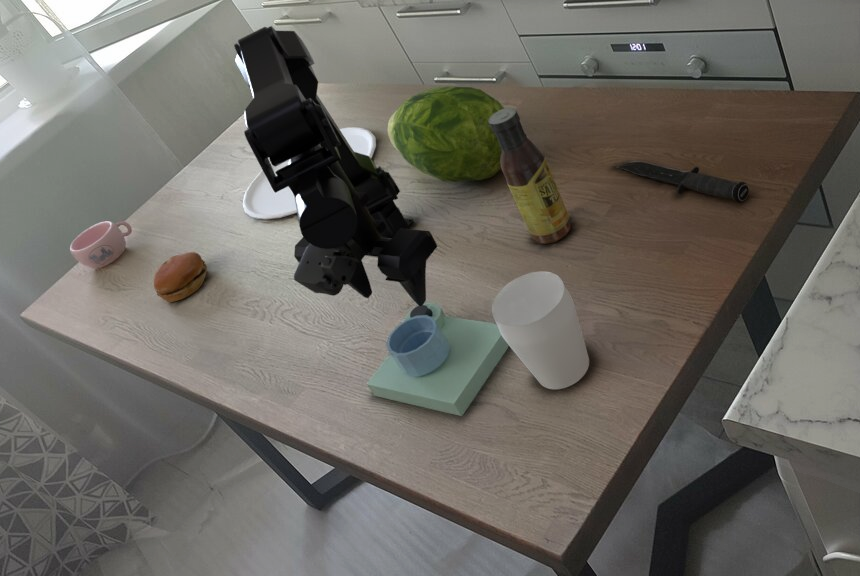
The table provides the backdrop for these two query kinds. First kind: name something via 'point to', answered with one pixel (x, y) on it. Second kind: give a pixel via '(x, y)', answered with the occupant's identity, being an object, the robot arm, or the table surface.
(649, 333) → the table surface
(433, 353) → the bowl
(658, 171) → the knife
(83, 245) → the mug
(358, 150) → the plate
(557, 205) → the sauce bottle
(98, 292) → the table surface
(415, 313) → the tare button
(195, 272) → the burger
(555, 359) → the cup
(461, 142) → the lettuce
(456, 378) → the scale
